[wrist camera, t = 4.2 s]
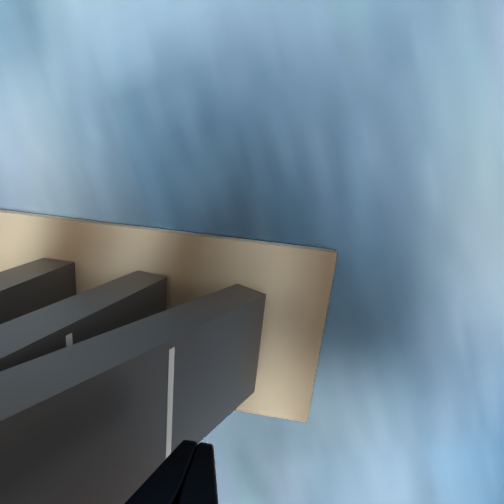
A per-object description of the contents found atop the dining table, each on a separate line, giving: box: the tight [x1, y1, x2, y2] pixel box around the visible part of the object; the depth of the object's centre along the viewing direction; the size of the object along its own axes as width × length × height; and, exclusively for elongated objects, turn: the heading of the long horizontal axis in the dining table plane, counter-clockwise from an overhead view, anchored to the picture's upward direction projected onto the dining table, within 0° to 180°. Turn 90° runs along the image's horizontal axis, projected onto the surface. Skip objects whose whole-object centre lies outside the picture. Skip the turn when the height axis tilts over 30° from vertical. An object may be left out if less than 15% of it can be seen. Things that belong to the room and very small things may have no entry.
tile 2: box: [0, 270, 167, 372], centre depth 10 cm, size 2×5×10 cm, turn 175°
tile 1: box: [0, 284, 266, 504], centre depth 10 cm, size 2×5×10 cm, turn 175°
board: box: [0, 209, 338, 423], centre depth 15 cm, size 26×9×1 cm, turn 84°
